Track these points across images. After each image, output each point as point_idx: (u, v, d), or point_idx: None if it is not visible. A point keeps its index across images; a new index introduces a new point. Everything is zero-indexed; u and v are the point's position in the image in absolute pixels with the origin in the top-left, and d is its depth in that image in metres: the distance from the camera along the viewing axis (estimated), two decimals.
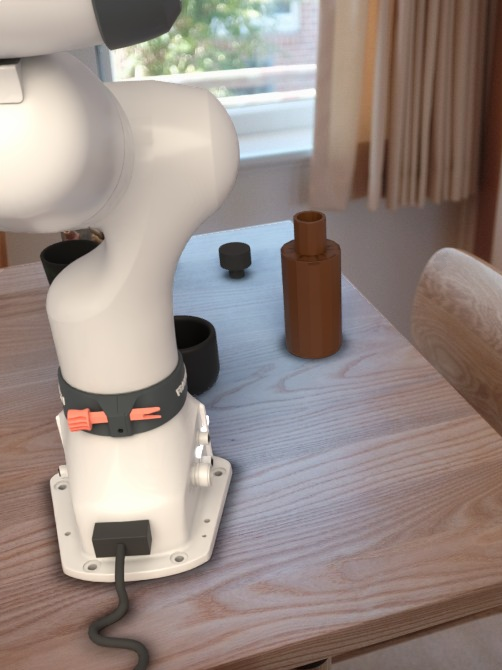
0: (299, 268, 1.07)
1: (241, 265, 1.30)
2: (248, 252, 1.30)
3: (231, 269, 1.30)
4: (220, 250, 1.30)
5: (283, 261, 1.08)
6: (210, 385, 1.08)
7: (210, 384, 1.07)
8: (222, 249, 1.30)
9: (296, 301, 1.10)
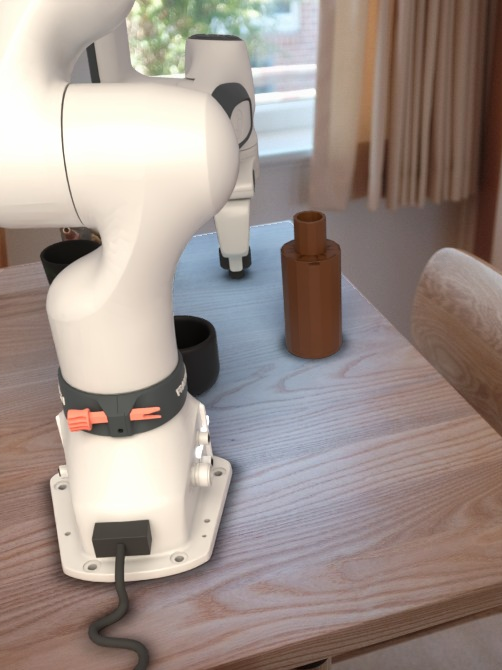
0: (299, 268, 1.07)
1: None
2: (248, 252, 1.30)
3: None
4: (220, 250, 1.30)
5: (283, 261, 1.08)
6: (210, 385, 1.08)
7: (210, 384, 1.07)
8: None
9: (296, 301, 1.10)
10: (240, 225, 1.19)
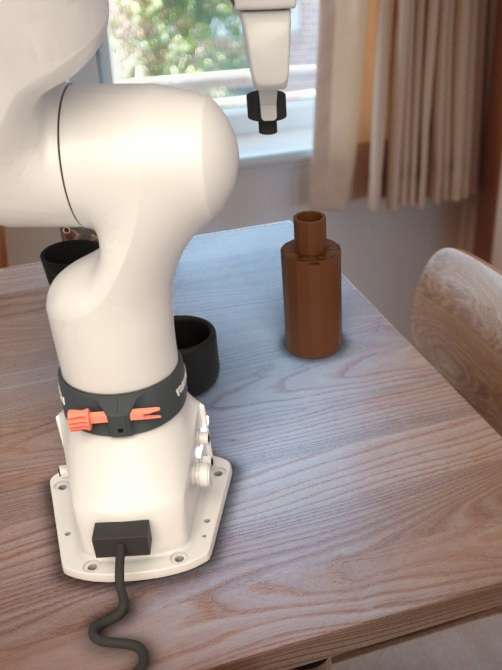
0: (299, 268, 1.07)
1: None
2: (283, 98, 1.05)
3: (262, 120, 1.05)
4: (248, 96, 1.05)
5: (283, 261, 1.08)
6: (210, 385, 1.08)
7: (210, 384, 1.07)
8: (251, 95, 1.05)
9: (296, 301, 1.10)
10: (278, 45, 0.94)
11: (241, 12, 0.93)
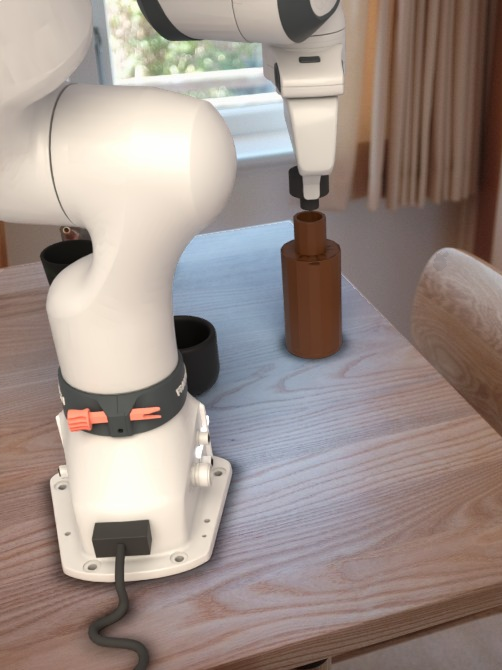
0: (299, 268, 1.07)
1: None
2: (326, 175, 1.03)
3: None
4: (291, 173, 1.03)
5: (283, 261, 1.08)
6: (210, 385, 1.08)
7: (210, 384, 1.07)
8: (293, 172, 1.03)
9: (296, 301, 1.10)
10: (325, 132, 0.91)
11: (287, 99, 0.91)
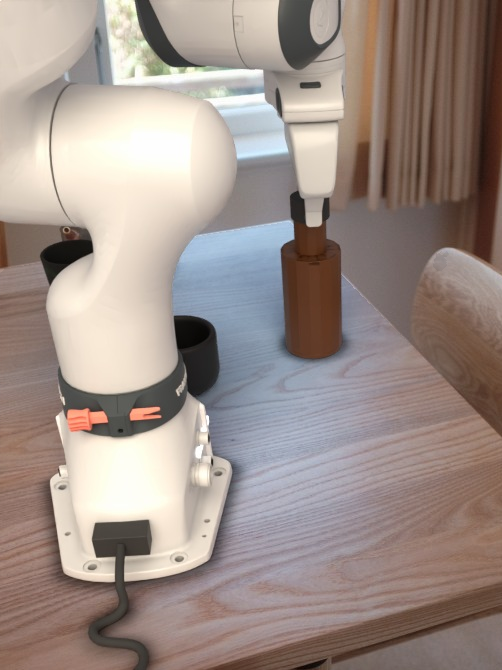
0: (299, 268, 1.07)
1: None
2: (327, 201, 1.04)
3: None
4: (292, 198, 1.05)
5: (283, 261, 1.08)
6: (210, 385, 1.08)
7: (210, 384, 1.07)
8: (294, 197, 1.05)
9: (296, 301, 1.10)
10: (325, 156, 0.93)
11: (289, 124, 0.92)
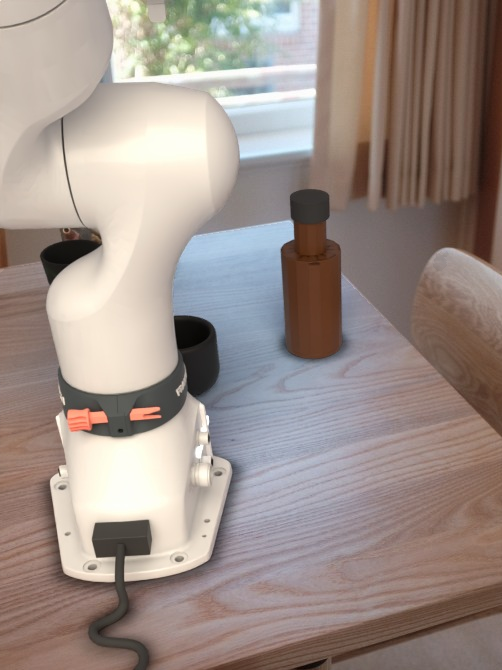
0: (299, 268, 1.07)
1: (318, 217, 1.05)
2: (327, 201, 1.04)
3: (306, 222, 1.05)
4: (292, 198, 1.05)
5: (283, 261, 1.08)
6: (210, 385, 1.08)
7: (210, 384, 1.07)
8: (294, 197, 1.05)
9: (296, 301, 1.10)
10: None
11: None
